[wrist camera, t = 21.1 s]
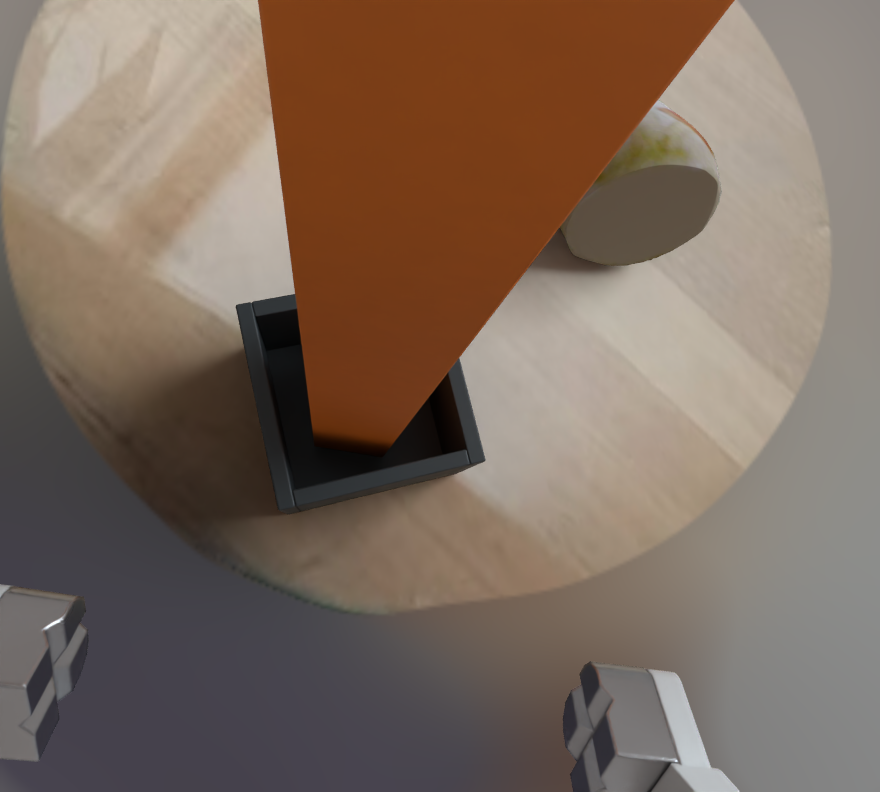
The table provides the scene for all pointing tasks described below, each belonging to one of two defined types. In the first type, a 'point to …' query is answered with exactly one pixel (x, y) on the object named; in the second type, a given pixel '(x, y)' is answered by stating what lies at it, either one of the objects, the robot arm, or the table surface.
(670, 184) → the mug
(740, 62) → the table surface
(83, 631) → the robot arm
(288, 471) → the bin
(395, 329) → the block
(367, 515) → the table surface
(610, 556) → the table surface
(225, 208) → the table surface
